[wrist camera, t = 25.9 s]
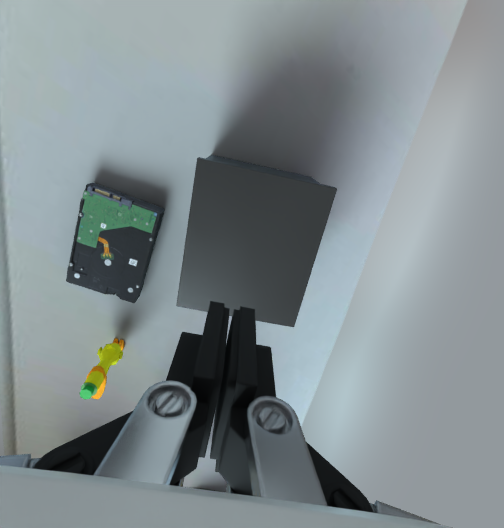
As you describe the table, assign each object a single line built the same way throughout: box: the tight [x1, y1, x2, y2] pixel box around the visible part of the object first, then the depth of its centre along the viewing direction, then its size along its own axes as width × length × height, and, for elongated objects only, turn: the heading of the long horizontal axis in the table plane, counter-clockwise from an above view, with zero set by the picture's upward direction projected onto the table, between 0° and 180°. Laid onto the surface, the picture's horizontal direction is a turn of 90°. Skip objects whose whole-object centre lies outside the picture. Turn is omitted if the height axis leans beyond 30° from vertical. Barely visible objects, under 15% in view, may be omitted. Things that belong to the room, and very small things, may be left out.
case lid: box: [177, 157, 337, 327], centre depth 34 cm, size 16×14×1 cm
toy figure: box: [80, 338, 124, 399], centre depth 49 cm, size 7×4×12 cm, turn 166°
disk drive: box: [66, 183, 164, 303], centre depth 46 cm, size 10×3×15 cm
